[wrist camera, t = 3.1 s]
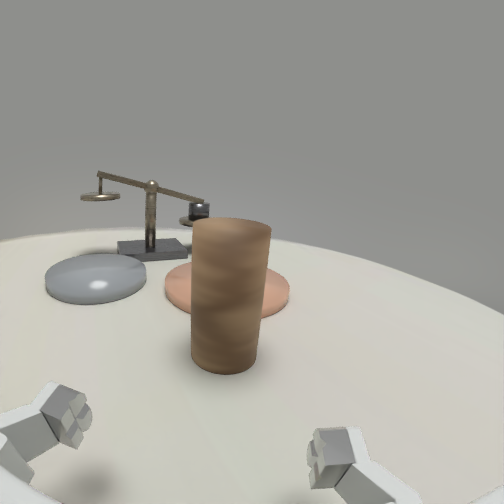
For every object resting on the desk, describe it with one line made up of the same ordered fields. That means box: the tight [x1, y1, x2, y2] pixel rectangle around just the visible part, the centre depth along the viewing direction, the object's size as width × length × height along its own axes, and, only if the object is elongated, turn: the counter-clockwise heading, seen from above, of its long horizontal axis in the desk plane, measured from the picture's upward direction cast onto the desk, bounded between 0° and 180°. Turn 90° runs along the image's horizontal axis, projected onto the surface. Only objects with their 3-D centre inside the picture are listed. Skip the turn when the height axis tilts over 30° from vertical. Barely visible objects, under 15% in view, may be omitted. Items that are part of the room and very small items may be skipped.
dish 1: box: [45, 254, 146, 304], centre depth 30 cm, size 13×13×1 cm
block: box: [191, 218, 271, 375], centre depth 20 cm, size 5×5×10 cm
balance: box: [81, 171, 210, 262], centre depth 40 cm, size 21×7×13 cm, turn 120°
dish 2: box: [165, 262, 290, 318], centre depth 32 cm, size 14×14×1 cm
